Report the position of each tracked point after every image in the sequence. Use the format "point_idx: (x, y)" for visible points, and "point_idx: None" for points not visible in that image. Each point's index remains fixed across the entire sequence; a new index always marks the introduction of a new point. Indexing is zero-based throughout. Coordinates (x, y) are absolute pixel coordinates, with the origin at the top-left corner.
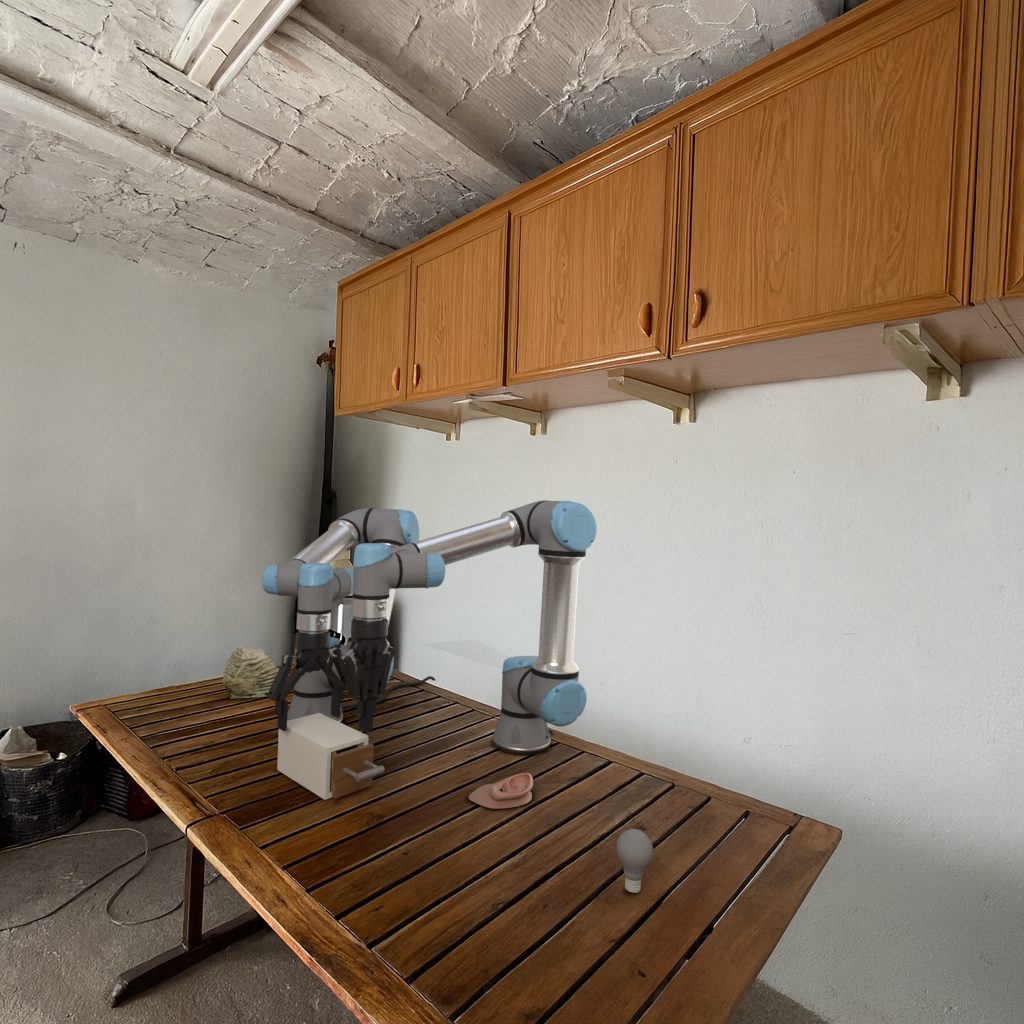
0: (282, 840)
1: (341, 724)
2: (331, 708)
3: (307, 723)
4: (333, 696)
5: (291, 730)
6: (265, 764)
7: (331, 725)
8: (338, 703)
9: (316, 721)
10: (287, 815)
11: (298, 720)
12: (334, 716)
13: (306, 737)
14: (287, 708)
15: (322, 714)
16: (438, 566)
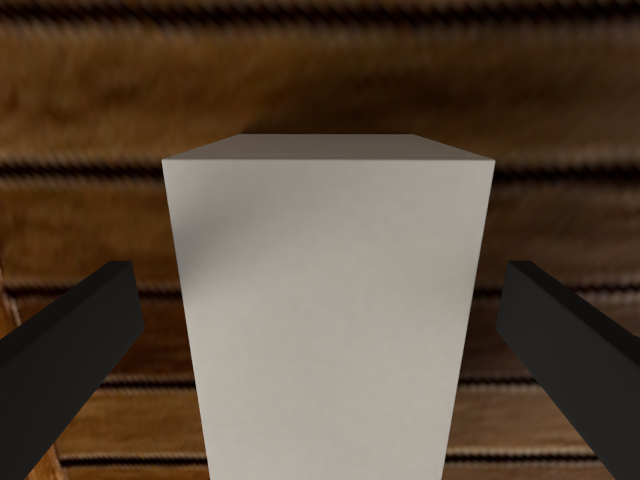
0: (106, 466)
1: (441, 410)
2: (533, 290)
3: (308, 288)
4: (603, 376)
5: (186, 312)
6: (224, 47)
7: (392, 392)
8: (558, 399)
9: (369, 294)
10: (151, 398)
11: (291, 206)
12: (500, 303)
13: (204, 439)
14: (48, 447)
15: (484, 207)
16: None
